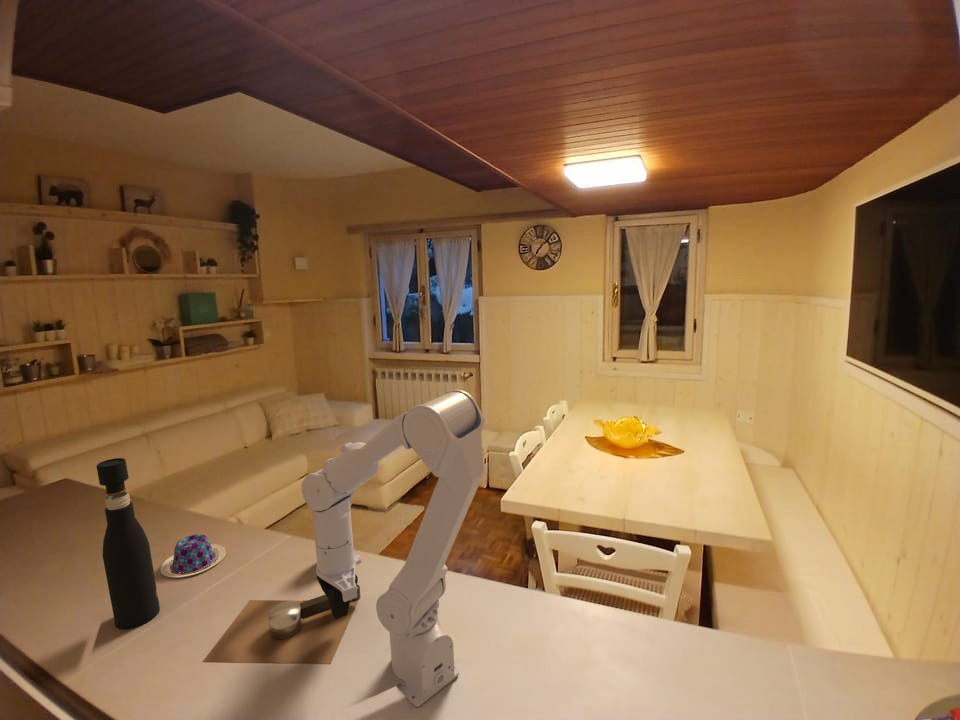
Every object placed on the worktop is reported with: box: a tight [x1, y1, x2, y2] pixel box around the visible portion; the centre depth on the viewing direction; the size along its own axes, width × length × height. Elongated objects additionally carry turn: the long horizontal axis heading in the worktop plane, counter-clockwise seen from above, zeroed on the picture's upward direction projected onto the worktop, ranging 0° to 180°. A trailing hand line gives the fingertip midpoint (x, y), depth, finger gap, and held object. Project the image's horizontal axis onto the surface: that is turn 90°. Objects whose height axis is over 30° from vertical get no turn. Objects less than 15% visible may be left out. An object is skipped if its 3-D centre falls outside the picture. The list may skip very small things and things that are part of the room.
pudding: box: [160, 533, 226, 578], centre depth 102 cm, size 12×12×5 cm
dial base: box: [202, 599, 359, 665], centre depth 80 cm, size 20×14×2 cm
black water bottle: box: [96, 457, 161, 631], centre depth 81 cm, size 6×6×30 cm
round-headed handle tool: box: [268, 583, 361, 639], centre depth 82 cm, size 15×5×3 cm, turn 119°
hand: (340, 614), depth 79 cm, fingers closed
